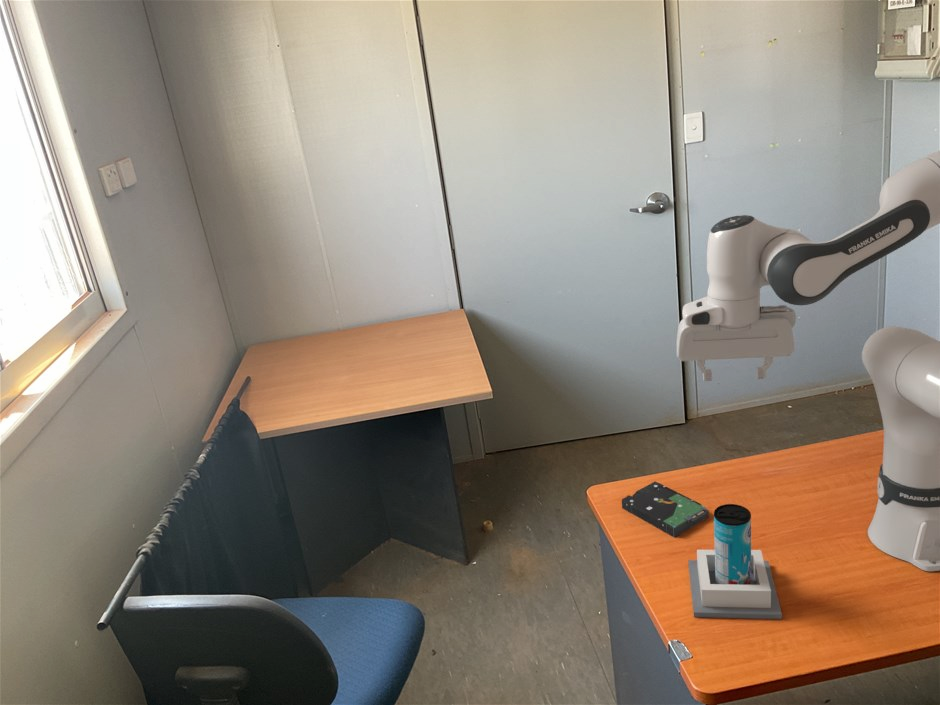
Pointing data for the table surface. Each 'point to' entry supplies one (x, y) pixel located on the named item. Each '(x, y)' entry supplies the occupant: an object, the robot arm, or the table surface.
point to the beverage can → (732, 545)
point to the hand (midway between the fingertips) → (734, 378)
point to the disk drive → (665, 509)
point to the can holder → (733, 590)
